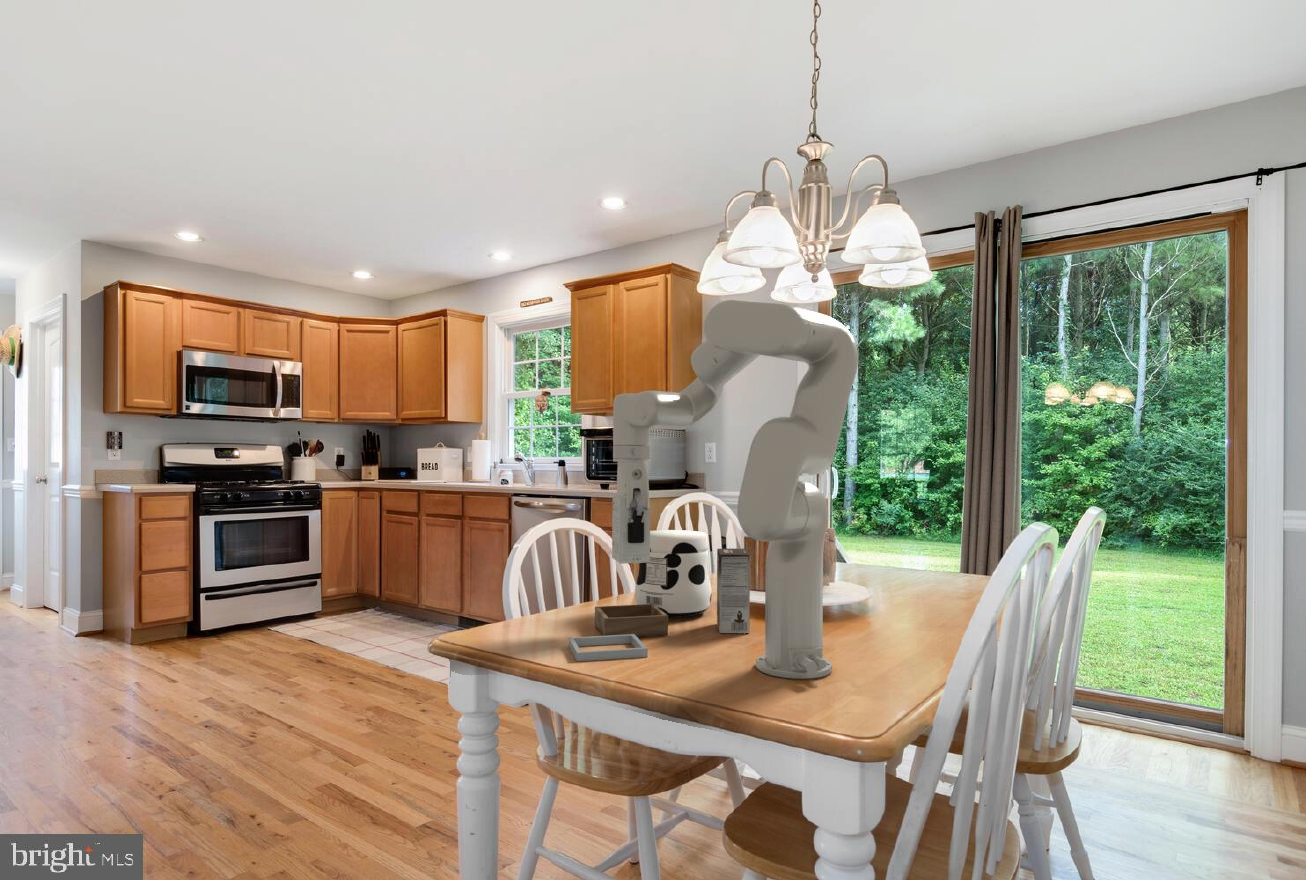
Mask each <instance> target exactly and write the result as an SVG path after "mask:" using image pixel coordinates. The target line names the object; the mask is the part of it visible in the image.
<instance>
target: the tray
mask: <svg viewBox="0 0 1306 880" xmlns="http://www.w3.org/2000/svg"><path fill="white" fill-rule="evenodd" d="M623 644H631V645H632V646H633V647H629V648H628V647H627V648H611V649H597V650H594V649H593V650H582V651H581V649H580V647H591V646H592V647H593V646H604V645H605V646H607V645H608V646H609V645H623ZM568 648H569V649H570V651H571V653H572V654H573V657H574V658H575V660H576V662H588V661H589V662H590V661H592V662H593V661H602V660H603V661H605V660H606V661H607V660H619V659H620V660H621V659H634V658H636V659H637V658H648V656H649V655H648V653H649V650H648V647H647V646H646V645H645V644H644V643H643V642H642V641H641V640H640V639H639V638H638V637H637V636H636V635H635V634H627V635H609V636H602V635H596V636H595V635H593V636H577V637H568Z"/></svg>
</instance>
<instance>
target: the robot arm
mask: <svg viewBox="0 0 1306 880" xmlns="http://www.w3.org/2000/svg"><path fill="white" fill-rule="evenodd" d="M703 334H704V336H705V339H706V340H704V341H703V342H701V344H700V345H699V346H697V347H696V348H695V349H694V350H693V351H692V353H691V355H690V364H691V366H692V369H693V371H694V373H695V375H696V378H695V379H694V380H693V381H692V382H691V383H690V384H689V385H687V386H686V387H685V388H683V390H681V391H680V392H674V391H663V390H644V391H641V392H637V393H621V394H620V393H619V394H617V395H616V396H615V397H614V399H613V405H612V407H613V414H612V418H613V419H612V420H613V423H612V425H613V426H612V430H613V431H612V433H613V435H612V442H613V443H612V445H613V446H612V458H613V459H612V462H617V470H616V473H617V475H616V496H618V497H621V498H625V505H626V509H627V510H629V522H630V523H628V543H643V542H644V515H643V514H644V511H643V508H647V509H646V510H648V509H649V498H650V485H649V471H648V462H651V430H674V431H675V430H677V431H678V430H680V431H681V430H684V429H687V428H690V427H692V426H693V425H695V424H696V423H697V422H698V421H700V420H701V419H703V418H704V417H705V416H707V414H709V413H710V412H711V411H712V410H713V409H714V408H715V407H716V405H717V404H718V403H719V400H720V397H721V395H722V393H723V389H724V386H725V385H726V383H728V382H729V381H730V380H732V379H733V378H734V377H736V376H737V375H738V374H739V373H740V372H742V371H743V370H744V369H745V368H746V367H747V366H749V365H750V364H751V363H752V362H754V361H755V360H756V359H757V358H759V356H764V357H765V356H766V357H771V358H777V359H783V360H788V361H789V360H790V361H794V362H795V361H796V362H803V363H805V364H807V366H808V369H807V371H806V373H805V374H804V375H803V377H802V379H801V380H800V382H799V384H798V387H797V389H796V391H795V392H796V393H795V394H794V395H795V396H794V401H793V405H792V408H791V411H790V415H789V416H779V417H773V418H772V419H770V420H767V421H766V422H765V423H764V424H762V425H761V426H760V427H759V429H758V430H757V431H756V434H755V435H754V437H753V439H752V441H751V445H750V448H749V452H748V455H747V458H746V459H747V460H746V464H745V469H744V473H743V477H742V481H741V487H740V490H739V495H738V500H737V508H736V509H737V510H736V511H737V512H736V513H737V519H738V523H739V525H740V527H741V529H742V531H743V532H744V533H745V534H746V535H747V536H748V537H749V538H751V539H752V540H755V541H759V542H769V543H768V547H767V552H766V558H765V576H764V577H765V579H764V582H765V585H764V587H765V590H764V594H765V597H764V600H765V601H764V605H765V607H764V610H765V611H764V615H765V620H764V622H765V623H764V624H765V626H764V629H765V630H764V631H765V632H764V637H765V638H764V641H765V642H764V644H765V646H764V649H765V650H764V654H760V655H759V656H758V657H756V659H755V667H756V668H757V670H758V671H760V672H762V673H764V674H767V675H769V676H772V677H773V676H774V677H778V678H785V679H791V680H792V679H793V680H797V679H798V680H804V679H806V680H807V679H817V678H822V677H826V676H828V675H830V674H831V673H832V671H833V663H832V662H831V661H830V660H829V659H828V658H825V657H824V656H823V654H824V653H823V650H824V649H823V647H824V646H823V644H824V643H823V637H824V636H823V633H824V632H823V631H824V630H823V629H824V628H823V627H824V625H823V624H824V623H823V616H824V615H823V613H824V612H823V610H824V609H823V608H824V607H823V605H824V604H823V601H824V600H823V599H824V597H823V594H824V593H823V591H824V590H823V589H824V588H823V586H824V585H823V583H824V582H823V580H824V578H823V577H824V549H825V538H826V535H827V534H826V532H827V527H828V522H829V521H828V520H829V507H828V506H829V505H828V503H827V499H826V497H825V495H824V493H822V491H821V490H820V489H819V488H818V487H817V486H816V485H814V484H812V483H810V482H809V481H804V480H799V478H800V477H804V476H815V475H820V474H822V473H823V472H824V473H825V471H827V470H828V469H829V468H830V467H831V465H832V464H833V462H834V459H835V456H836V452H837V447H838V444H839V441H840V435H841V432H842V428H843V424H844V420H845V416H846V411H847V407H848V402H849V399H850V398H849V397H850V395H851V392H852V388H853V385H854V382H855V379H856V375H857V371H858V365H859V351H858V346H857V343H856V340H855V338H854V336H853V334H852V333H851V332H850V331H849V329H848V328H847V327H846V326H845V325H844V324H842V323H841V322H839V321H838V320H836V319H835V318H833V317H831V316H830V315H829V316H828V315H827V314H823V313H820V312H817V311H814V310H810V309H806V308H801V307H798V306H794V305H789V304H785V303H772V302H762V301H761V302H758V301H745V300H737V299H725V300H723V301H720V302H718V303H717V304H715V305H714V306H713V307H711V308H710V310H709V311H708V313H707V314H706V316H705V319H704V322H703ZM633 497H634V500H635V503H636V507H631V506H630V503H631V502H632V500H633ZM643 506H644V507H643ZM632 511H634V512H633V514H632Z"/></svg>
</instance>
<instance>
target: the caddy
mask: <svg viewBox="0 0 1306 880" xmlns="http://www.w3.org/2000/svg"><path fill="white" fill-rule="evenodd" d="M594 627H595V628H596V629H597V631H598V632H599V633H600V636H609V635H627V634H635V635H636V636H637V637H638V639H639V638H640V639H641V638H657V637H668V636H669V617H668V615H667V614H665V613H664V612H663V611H662V610H660V609H659V608H658V607H657V606H655V605H654V604H642V605H637V604H627V605H626V604H622V605H607V606H606V605H603V606H595V607H594Z"/></svg>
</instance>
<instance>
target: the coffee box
mask: <svg viewBox="0 0 1306 880" xmlns="http://www.w3.org/2000/svg"><path fill="white" fill-rule="evenodd" d="M716 551H717V552H716V557H717V558H716V586H717V587H716V622H717V623H716V624H717V628H718V633H719V634H720V633H744V634H743V635H746V634H745V633H751V632H750V624H751V623H750V620H751V618H750V617H751V616H750V615H751V614H750V608H751V607H750V606H751V603H750V601H751V599H750V597H751V594H750V593H751V555H750V553H749V551H748V549H747V548H717V549H716Z"/></svg>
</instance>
